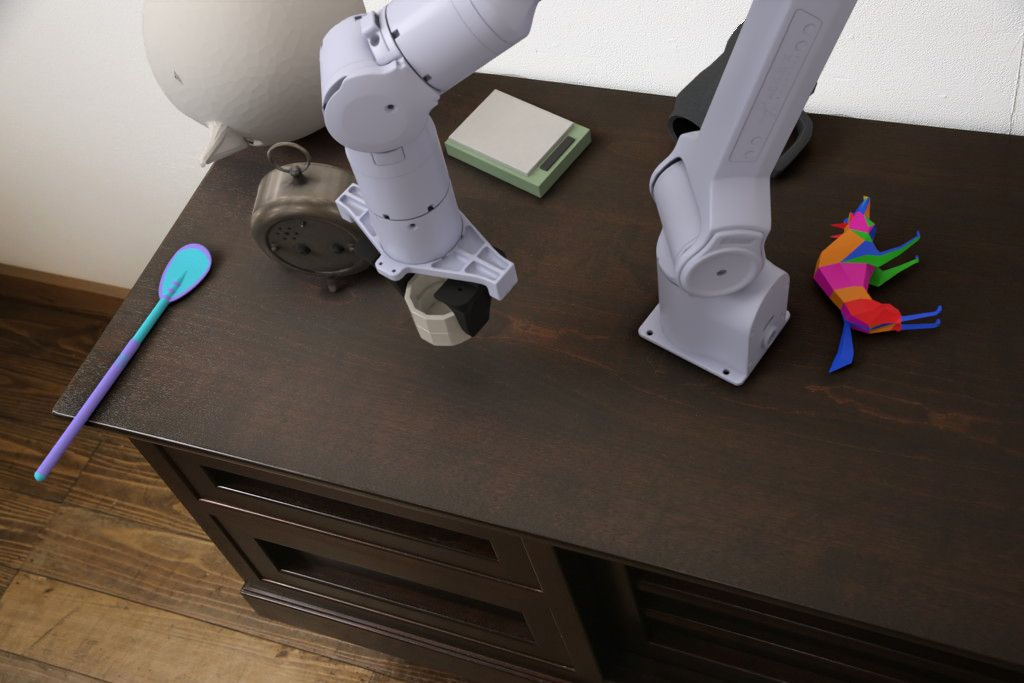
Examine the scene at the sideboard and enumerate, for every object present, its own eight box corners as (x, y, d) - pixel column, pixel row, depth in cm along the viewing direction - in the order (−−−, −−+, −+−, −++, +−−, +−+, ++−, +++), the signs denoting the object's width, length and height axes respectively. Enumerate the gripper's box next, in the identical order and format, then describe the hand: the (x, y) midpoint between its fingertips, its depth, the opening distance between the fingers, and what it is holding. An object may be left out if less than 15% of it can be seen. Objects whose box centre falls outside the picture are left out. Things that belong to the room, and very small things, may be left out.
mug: (724, 51, 101) (644, 128, 98) (751, -3, 92) (663, 80, 90) (821, 136, 99) (741, 217, 97) (857, 89, 91) (771, 176, 88)
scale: (591, 141, 100) (589, 125, 98) (540, 198, 97) (537, 182, 95) (498, 101, 105) (495, 85, 103) (447, 154, 102) (443, 138, 100)
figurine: (904, 173, 86) (789, 198, 88) (952, 338, 79) (827, 361, 81) (903, 201, 89) (793, 225, 91) (949, 362, 82) (829, 384, 84)
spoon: (185, 245, 100) (181, 237, 99) (222, 258, 99) (218, 250, 98) (19, 474, 88) (12, 467, 87) (59, 491, 87) (53, 485, 86)
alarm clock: (404, 248, 96) (356, 115, 83) (394, 297, 93) (343, 167, 80) (287, 249, 98) (222, 120, 85) (274, 297, 95) (204, 171, 82)
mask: (246, -32, 113) (77, -41, 97) (361, -121, 102) (192, -148, 86) (319, 166, 113) (164, 188, 97) (442, 98, 102) (288, 111, 86)
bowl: (498, 311, 82) (489, 279, 79) (456, 361, 80) (445, 330, 77) (445, 283, 84) (435, 251, 81) (403, 331, 82) (391, 300, 79)
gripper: (286, 186, 71) (342, 306, 82) (455, 275, 65) (491, 391, 76) (355, 119, 74) (400, 244, 85) (523, 197, 68) (549, 321, 79)
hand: (447, 309), depth 81 cm, fingers closed on bowl, 5 cm apart
